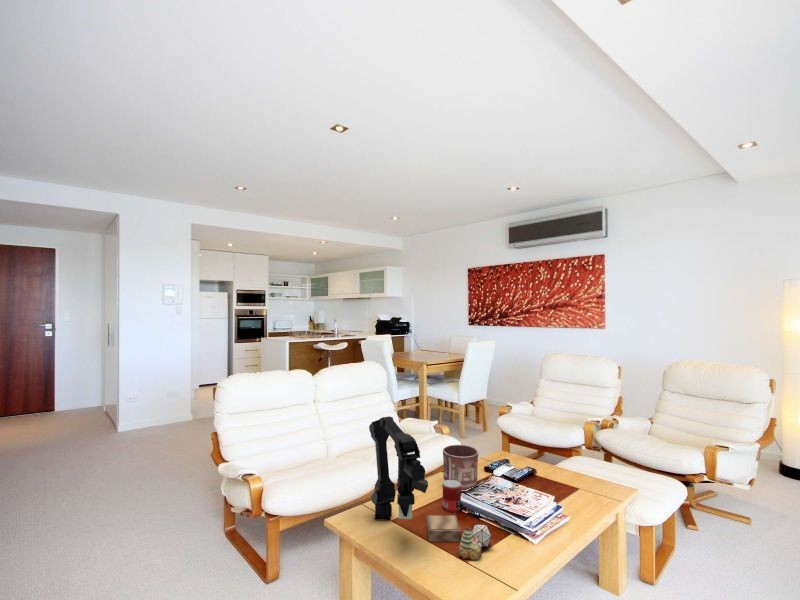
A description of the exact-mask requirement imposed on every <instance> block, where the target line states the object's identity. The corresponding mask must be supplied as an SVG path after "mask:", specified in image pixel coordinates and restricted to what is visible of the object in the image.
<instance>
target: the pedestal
mask: <svg viewBox="0 0 800 600" xmlns="http://www.w3.org/2000/svg"><path fill="white" fill-rule="evenodd" d="M426 531H427V537H428V538H427V539H428V542H434V543H437V542H438V543H441V542H443V543H444V542H445V543H447V542H448V543H449V542H450V543H452V542H455V543H461V541H462V540H461V538H462V536H461V535H462V533H461V531H462V530H461V527H460V524H459V520H458V517H457V515H432V514H431V515H428V514H427V515H426Z"/></svg>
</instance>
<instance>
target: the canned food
mask: <svg viewBox="0 0 800 600" xmlns="http://www.w3.org/2000/svg"><path fill="white" fill-rule="evenodd" d="M460 500H461V501H462V492H461V483H460V482H458V481H456V480H445V481H444V480H443V481H442V508H443V510H444V511H446V512H450V513H456V512H459V511H460V510H461V508H460Z"/></svg>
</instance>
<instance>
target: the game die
mask: <svg viewBox="0 0 800 600" xmlns="http://www.w3.org/2000/svg"><path fill="white" fill-rule="evenodd" d="M472 525H473V526H472V530H471V534H472V537H473V538H477V539H478V542H479V543H481V548H482V547H485V548H487V549H489V544H490V542H491V539H493V538H494V536H493V535H492V534H491V533H490V530H489V528H488V522H486V523H485V524H476V523H475V522H472Z"/></svg>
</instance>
